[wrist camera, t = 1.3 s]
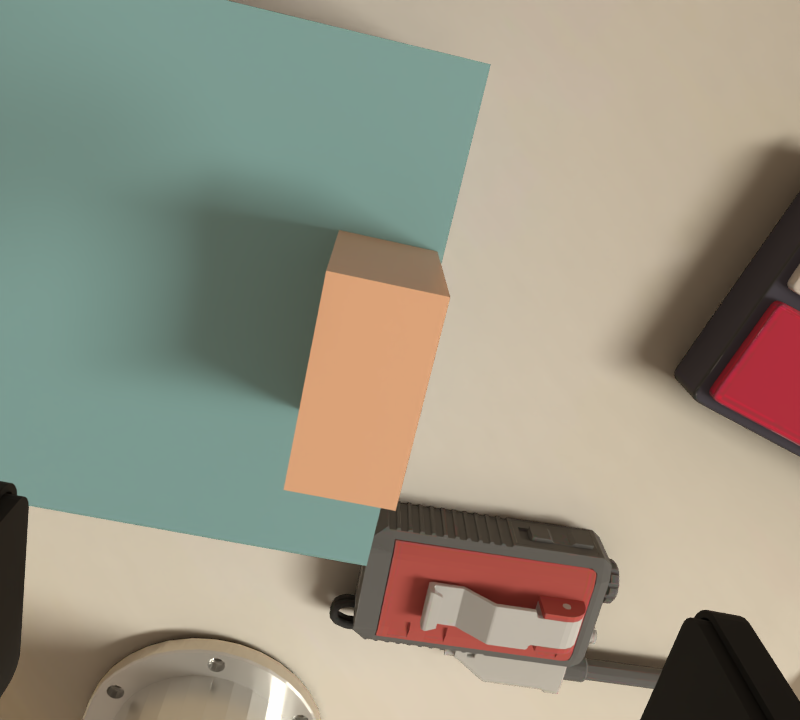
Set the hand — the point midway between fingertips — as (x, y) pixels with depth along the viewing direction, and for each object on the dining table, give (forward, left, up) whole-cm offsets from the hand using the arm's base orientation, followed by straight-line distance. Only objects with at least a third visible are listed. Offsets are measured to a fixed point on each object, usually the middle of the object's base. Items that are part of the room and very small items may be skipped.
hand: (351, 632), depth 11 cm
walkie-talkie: (-15, -11, -24) cm, 30 cm away
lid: (0, +9, -15) cm, 17 cm away
